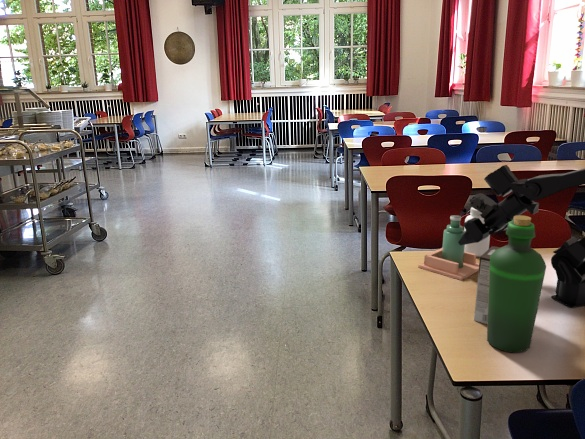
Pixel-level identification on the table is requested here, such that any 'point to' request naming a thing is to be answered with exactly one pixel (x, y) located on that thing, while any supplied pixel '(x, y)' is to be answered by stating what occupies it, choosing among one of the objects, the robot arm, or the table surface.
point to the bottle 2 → (514, 288)
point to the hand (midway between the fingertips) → (467, 240)
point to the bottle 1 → (453, 242)
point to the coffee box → (483, 287)
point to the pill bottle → (480, 246)
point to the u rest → (450, 265)
